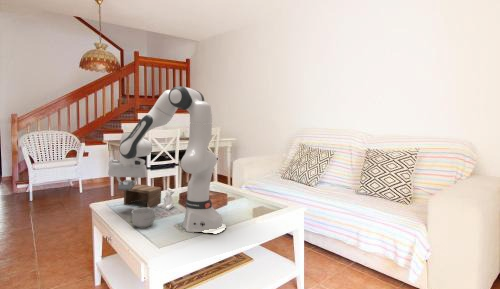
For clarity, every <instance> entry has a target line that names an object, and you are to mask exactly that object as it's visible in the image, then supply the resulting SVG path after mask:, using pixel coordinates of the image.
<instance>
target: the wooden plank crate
mask: <svg viewBox="0 0 500 289" xmlns="http://www.w3.org/2000/svg"><path fill="white" fill-rule="evenodd" d="M123 192H124V193H123V205H124V206H125V205H129V204H132V203H134V201H135V202H137V201H136V200H139V201H138V202H142V201H143V202H142V203H147V204H146V205H147V206H146V208H147V207H150V208H155V207H157V205H158V204H160V203H162V201H161V200H162V187H160V186H153V185H146V184H139V183H136V185H135V186H134V187H133V188H132V189H131V190H123Z"/></svg>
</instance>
